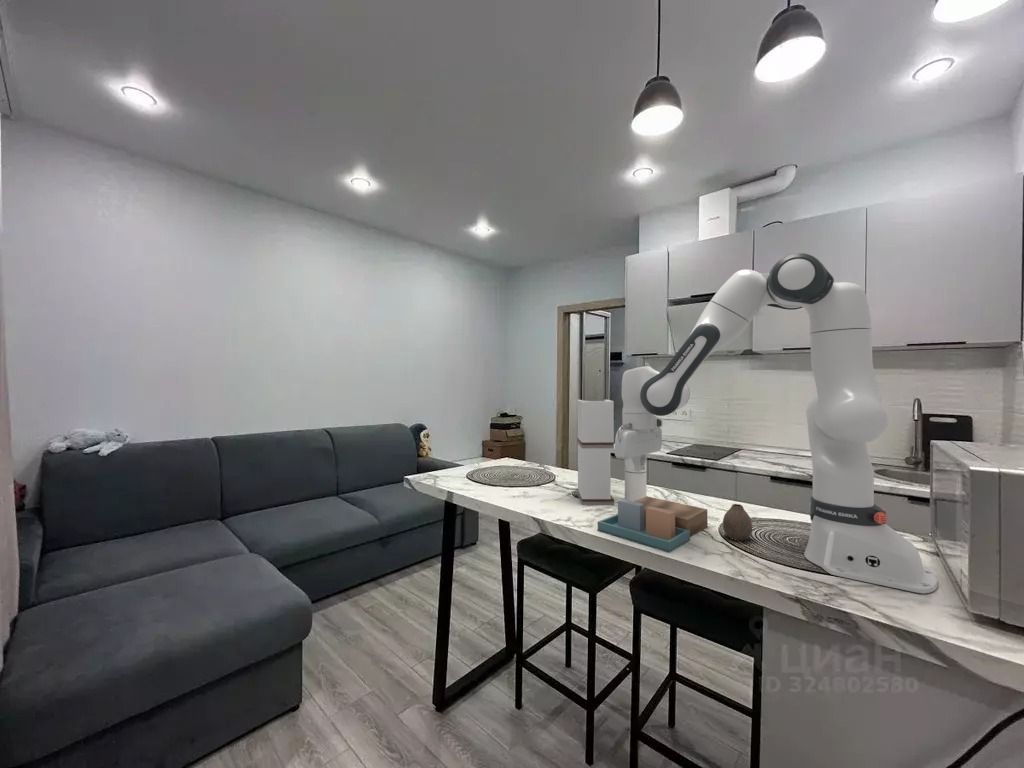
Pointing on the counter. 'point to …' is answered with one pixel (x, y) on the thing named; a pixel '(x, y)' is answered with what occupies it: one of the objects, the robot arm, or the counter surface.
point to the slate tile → (631, 514)
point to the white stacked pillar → (595, 451)
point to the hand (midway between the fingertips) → (639, 470)
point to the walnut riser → (680, 513)
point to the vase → (737, 523)
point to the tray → (643, 535)
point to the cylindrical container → (634, 482)
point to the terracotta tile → (660, 522)
